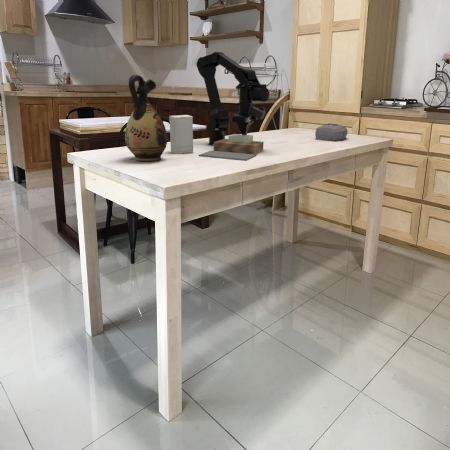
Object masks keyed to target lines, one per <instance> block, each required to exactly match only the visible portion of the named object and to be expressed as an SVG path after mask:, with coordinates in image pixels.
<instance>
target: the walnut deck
mask: <svg viewBox="0 0 450 450" xmlns="http://www.w3.org/2000/svg"><path fill="white" fill-rule="evenodd" d="M213 151H223V152H233V153H244V154H255V155H256V156H257V155H258V154H260V153H262V152H263V151H264V141H257V140H253V142H250V143H240V142H228V138H225V139H223V140H219V141H216V142H214V145H213Z"/></svg>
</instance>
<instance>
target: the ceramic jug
mask: <svg viewBox="0 0 450 450" xmlns="http://www.w3.org/2000/svg"><path fill="white" fill-rule="evenodd" d="M136 82H138V86H137V88H136V85H135V84H136ZM128 87H129V91H130V92H129V93H130V95H131V98H132V102H133V106H134V109H133V111H132V112H131V114H130V115H129V119H128V120H127V124H126V127H125V133H124V141H125V145H126V148H127V149H128V150H129V151H130V153H132V155H133V156H134V157H135V160H136V161H139V162H140V161H142V162H143V161H145V162H147V161H150V162H151V161H154V162H155V161H160V160H162V159H161V158H162V155H163V153H164V151H165V150H166V147H167V145H168V133H167V129H166V127H165V124H164V121H163V120H162V118H161V117H160V115H159V113H158V112H157V110H156V109H155V108H154V106H152V104H151V101H149V97H148V94H149V93H150V92H152V91H154V90H155V89H156V88H157V85H156V82H154V80H153V79H151V78H150V79H148V80H146V81H145V80H144V78H143V77H142V76H141V75H138V74H133V75H130V77H129V78H128Z"/></svg>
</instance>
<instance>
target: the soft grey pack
mask: <svg viewBox="0 0 450 450" xmlns="http://www.w3.org/2000/svg"><path fill="white" fill-rule="evenodd" d="M314 135H315V138H316V140H319V141H326V142H338V141H339V142H340V141H342V140H345V139H346V138H347V135H348V129H347V127H346V126H344V125H342V124H338V123H331V122H330V123H326V124H323V125H321V126H318V127H317V128H316V130H315V134H314Z"/></svg>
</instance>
